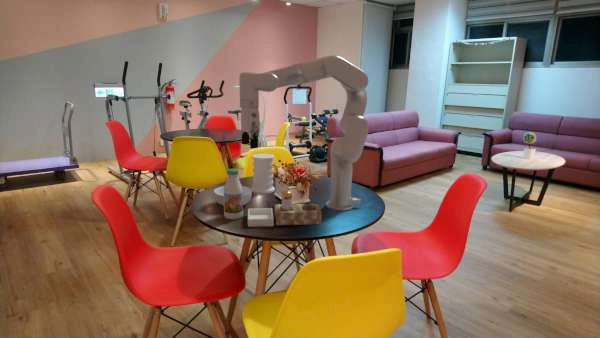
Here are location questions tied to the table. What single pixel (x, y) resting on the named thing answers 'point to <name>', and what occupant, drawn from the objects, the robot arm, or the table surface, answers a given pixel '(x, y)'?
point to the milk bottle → (233, 196)
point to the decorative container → (263, 173)
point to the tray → (260, 217)
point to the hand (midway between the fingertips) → (249, 145)
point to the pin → (286, 200)
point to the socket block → (298, 214)
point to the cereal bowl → (220, 194)
